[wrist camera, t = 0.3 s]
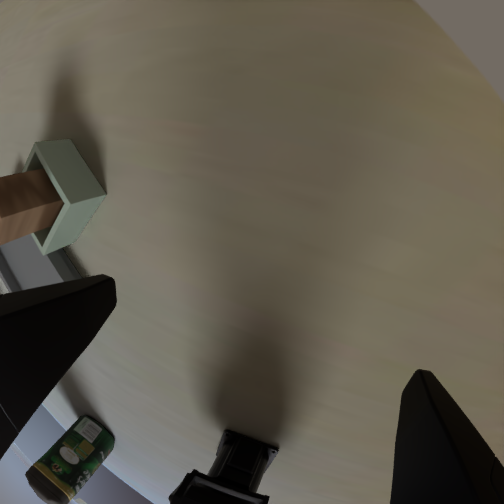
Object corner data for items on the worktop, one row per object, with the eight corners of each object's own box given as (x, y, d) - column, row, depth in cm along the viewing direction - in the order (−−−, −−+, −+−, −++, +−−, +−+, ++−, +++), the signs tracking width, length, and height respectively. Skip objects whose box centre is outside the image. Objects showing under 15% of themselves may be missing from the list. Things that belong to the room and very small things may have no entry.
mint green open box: (106, 194, 26) (70, 204, 21) (74, 242, 29) (43, 255, 25) (70, 138, 25) (35, 142, 21) (43, 189, 28) (12, 197, 24)
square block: (84, 194, 26) (1, 218, 17) (68, 220, 27) (-7, 248, 19) (65, 164, 25) (-15, 180, 17) (51, 191, 27) (-23, 212, 19)
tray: (101, 305, 30) (87, 315, 28) (63, 349, 37) (52, 357, 34) (22, 177, 29) (7, 180, 27) (-1, 246, 36) (-13, 250, 33)
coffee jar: (113, 453, 44) (60, 516, 28) (81, 427, 45) (25, 485, 28) (119, 437, 40) (56, 510, 24) (83, 407, 41) (15, 473, 24)
